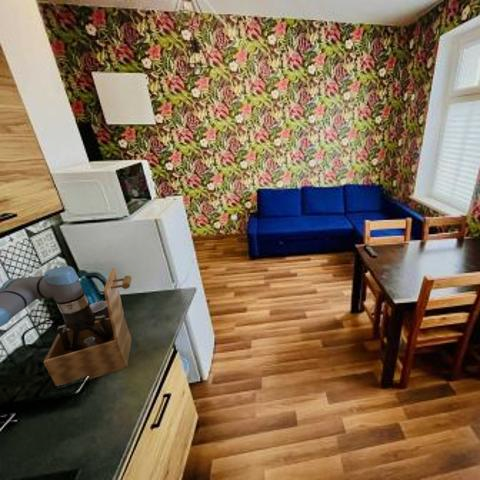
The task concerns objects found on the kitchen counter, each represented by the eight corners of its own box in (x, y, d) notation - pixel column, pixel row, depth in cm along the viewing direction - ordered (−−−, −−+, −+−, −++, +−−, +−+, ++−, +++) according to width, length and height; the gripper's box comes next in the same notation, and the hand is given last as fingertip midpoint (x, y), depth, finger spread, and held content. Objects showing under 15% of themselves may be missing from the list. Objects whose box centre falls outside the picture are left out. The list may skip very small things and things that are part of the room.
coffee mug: (86, 329, 120) (79, 311, 116) (105, 317, 128) (98, 299, 124) (107, 333, 117) (100, 315, 114) (124, 320, 125) (118, 303, 121)
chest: (58, 390, 92) (43, 362, 87) (72, 356, 106) (59, 330, 101) (127, 367, 101) (116, 341, 96) (131, 338, 115) (122, 314, 110)
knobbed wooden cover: (103, 290, 88) (126, 286, 91) (111, 268, 102) (131, 265, 105) (115, 340, 95) (136, 335, 98) (121, 313, 109) (140, 310, 112)
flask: (104, 349, 108) (96, 330, 104) (113, 357, 104) (105, 337, 100) (82, 362, 102) (73, 342, 98) (91, 370, 98) (81, 350, 94)
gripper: (33, 323, 86) (60, 374, 95) (107, 305, 95) (126, 354, 104) (41, 310, 92) (66, 359, 101) (111, 294, 101) (128, 341, 110)
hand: (97, 356), depth 102 cm, fingers closed on flask, 7 cm apart
